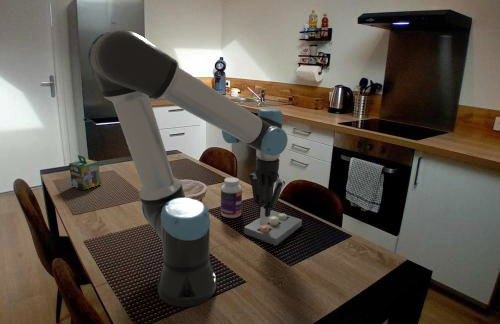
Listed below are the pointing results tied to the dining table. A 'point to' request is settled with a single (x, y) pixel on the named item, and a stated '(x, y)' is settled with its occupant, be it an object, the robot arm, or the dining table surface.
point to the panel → (273, 229)
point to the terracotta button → (264, 229)
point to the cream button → (274, 221)
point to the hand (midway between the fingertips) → (263, 224)
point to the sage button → (282, 216)
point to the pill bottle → (231, 198)
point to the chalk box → (85, 173)
